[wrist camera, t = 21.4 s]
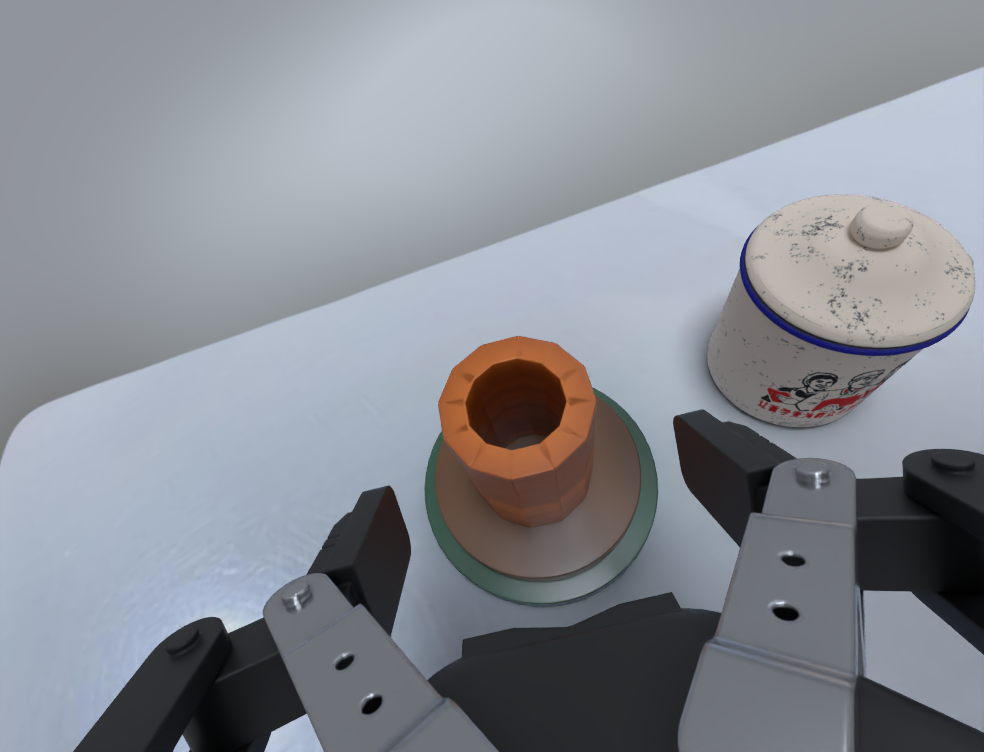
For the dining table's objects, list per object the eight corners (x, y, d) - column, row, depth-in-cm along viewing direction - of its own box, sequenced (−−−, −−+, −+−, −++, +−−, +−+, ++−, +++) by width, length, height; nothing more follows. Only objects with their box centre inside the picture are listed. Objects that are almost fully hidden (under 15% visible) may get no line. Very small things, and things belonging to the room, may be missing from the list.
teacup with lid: (748, 453, 26) (850, 336, 16) (676, 329, 31) (722, 180, 21) (954, 392, 26) (1185, 236, 16) (851, 277, 31) (980, 101, 21)
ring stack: (576, 354, 31) (576, 328, 29) (705, 530, 25) (719, 517, 22) (401, 445, 30) (385, 426, 28) (487, 655, 24) (476, 657, 21)
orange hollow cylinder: (572, 405, 26) (569, 322, 19) (605, 510, 23) (616, 454, 16) (469, 431, 27) (430, 357, 20) (489, 538, 23) (450, 494, 17)
